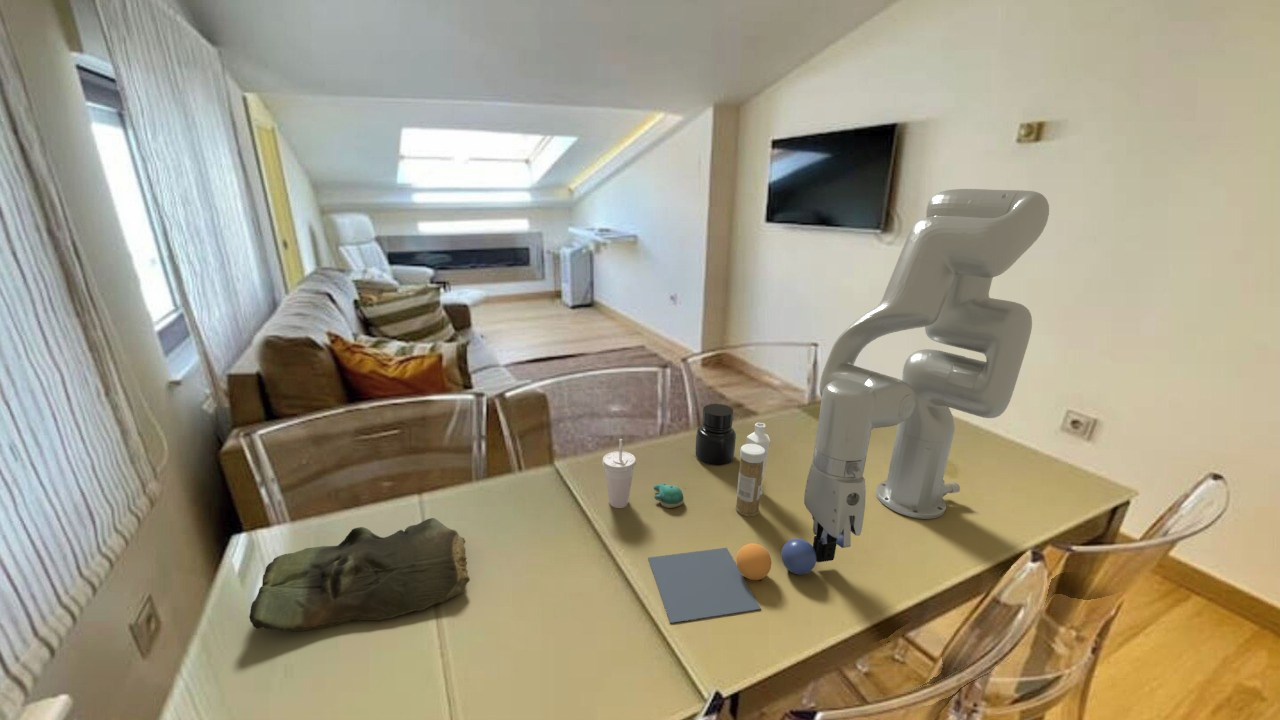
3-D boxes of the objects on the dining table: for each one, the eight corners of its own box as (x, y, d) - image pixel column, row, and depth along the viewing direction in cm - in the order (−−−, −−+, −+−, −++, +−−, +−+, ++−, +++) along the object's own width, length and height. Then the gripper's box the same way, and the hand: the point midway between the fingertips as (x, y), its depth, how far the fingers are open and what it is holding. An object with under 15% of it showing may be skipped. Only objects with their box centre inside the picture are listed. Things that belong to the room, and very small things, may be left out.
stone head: (470, 592, 76) (239, 626, 67) (470, 628, 80) (253, 665, 71) (467, 496, 92) (280, 513, 83) (467, 530, 96) (289, 550, 87)
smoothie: (610, 515, 99) (611, 449, 95) (597, 497, 105) (597, 434, 100) (640, 506, 102) (642, 442, 98) (626, 490, 107) (627, 428, 103)
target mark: (726, 548, 91) (726, 547, 91) (760, 609, 78) (761, 608, 78) (648, 558, 88) (648, 557, 88) (670, 623, 75) (670, 622, 75)
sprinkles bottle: (763, 512, 101) (770, 450, 97) (746, 520, 99) (753, 456, 95) (746, 500, 105) (753, 440, 101) (729, 507, 102) (735, 446, 98)
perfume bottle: (739, 494, 107) (746, 427, 102) (744, 483, 111) (750, 418, 106) (762, 499, 106) (770, 432, 101) (766, 488, 109) (773, 423, 105)
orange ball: (768, 546, 87) (747, 530, 85) (784, 569, 82) (762, 552, 80) (745, 569, 88) (724, 554, 86) (759, 593, 83) (737, 577, 81)
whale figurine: (663, 513, 101) (663, 496, 99) (646, 493, 107) (646, 477, 106) (689, 506, 103) (690, 489, 102) (671, 487, 109) (672, 471, 108)
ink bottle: (729, 447, 126) (733, 401, 122) (740, 465, 118) (745, 417, 114) (689, 448, 125) (692, 402, 121) (698, 467, 117) (701, 418, 113)
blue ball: (782, 529, 86) (770, 557, 88) (799, 552, 81) (786, 581, 83) (809, 533, 88) (797, 560, 90) (828, 555, 83) (815, 583, 84)
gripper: (891, 483, 75) (870, 587, 81) (833, 436, 89) (819, 528, 95) (844, 488, 73) (826, 594, 79) (793, 439, 87) (780, 532, 93)
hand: (822, 558), depth 87 cm, fingers closed
